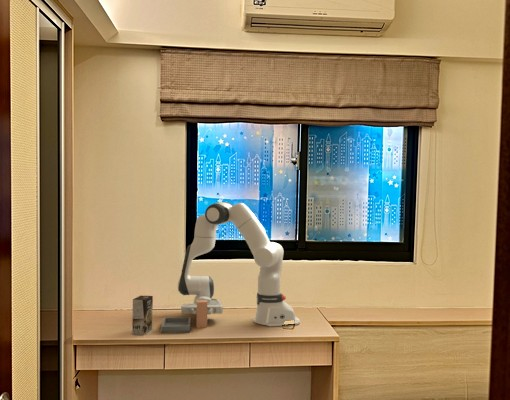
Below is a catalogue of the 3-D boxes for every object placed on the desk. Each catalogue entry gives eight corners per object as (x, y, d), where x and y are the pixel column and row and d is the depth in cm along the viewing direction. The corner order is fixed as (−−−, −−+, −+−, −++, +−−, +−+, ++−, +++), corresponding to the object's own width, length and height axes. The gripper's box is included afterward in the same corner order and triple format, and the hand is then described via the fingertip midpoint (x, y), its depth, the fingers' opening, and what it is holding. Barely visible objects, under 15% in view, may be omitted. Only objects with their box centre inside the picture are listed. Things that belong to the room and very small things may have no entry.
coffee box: (145, 335, 234) (145, 299, 234) (131, 334, 235) (131, 299, 235) (153, 329, 243) (153, 295, 242) (140, 328, 244) (140, 294, 244)
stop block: (207, 324, 254) (207, 299, 253) (207, 327, 249) (207, 302, 248) (196, 324, 253) (196, 300, 253) (196, 327, 248) (196, 302, 248)
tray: (190, 323, 255) (190, 317, 255) (189, 332, 239) (189, 326, 239) (163, 323, 254) (163, 317, 254) (161, 333, 238) (161, 326, 238)
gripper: (181, 299, 262) (180, 306, 249) (222, 299, 264) (223, 306, 251) (181, 312, 263) (180, 319, 249) (222, 311, 265) (223, 319, 251)
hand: (202, 312), depth 250 cm, fingers open, 5 cm apart
